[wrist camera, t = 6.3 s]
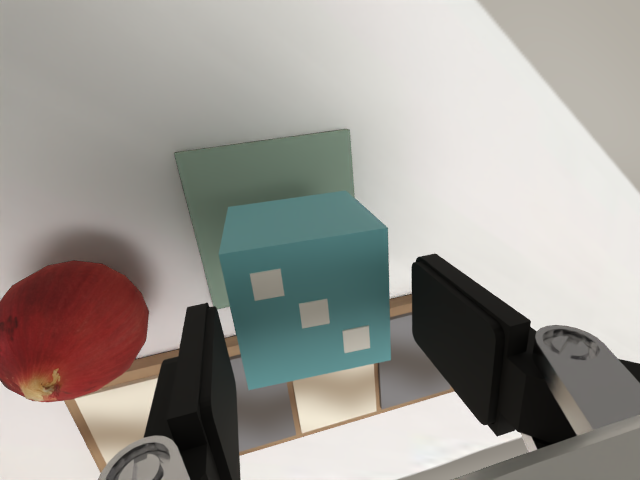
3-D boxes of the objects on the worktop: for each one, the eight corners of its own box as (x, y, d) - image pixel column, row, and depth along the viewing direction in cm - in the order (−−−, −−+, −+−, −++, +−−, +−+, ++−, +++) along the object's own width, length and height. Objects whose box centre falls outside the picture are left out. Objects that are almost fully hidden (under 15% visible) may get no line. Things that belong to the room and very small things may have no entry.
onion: (66, 345, 20) (-25, 483, 13) (17, 252, 18) (-129, 356, 10) (173, 317, 21) (145, 430, 14) (139, 226, 19) (84, 304, 11)
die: (227, 206, 15) (218, 254, 10) (346, 190, 15) (388, 228, 11) (248, 311, 16) (248, 392, 12) (352, 292, 17) (391, 362, 13)
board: (65, 376, 20) (55, 392, 19) (452, 284, 25) (463, 293, 24) (115, 479, 24) (110, 498, 23) (448, 381, 29) (457, 393, 27)
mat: (175, 152, 18) (174, 153, 17) (346, 128, 19) (349, 129, 19) (214, 304, 21) (214, 310, 21) (357, 273, 23) (360, 277, 22)
